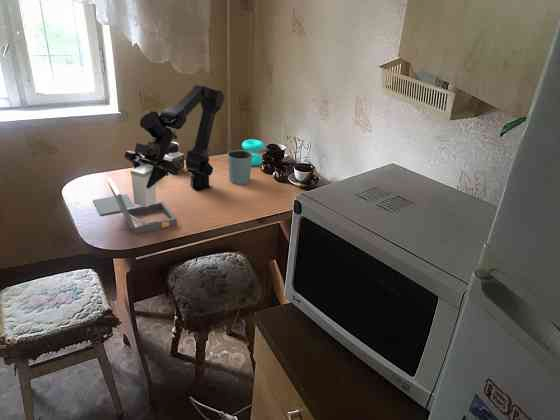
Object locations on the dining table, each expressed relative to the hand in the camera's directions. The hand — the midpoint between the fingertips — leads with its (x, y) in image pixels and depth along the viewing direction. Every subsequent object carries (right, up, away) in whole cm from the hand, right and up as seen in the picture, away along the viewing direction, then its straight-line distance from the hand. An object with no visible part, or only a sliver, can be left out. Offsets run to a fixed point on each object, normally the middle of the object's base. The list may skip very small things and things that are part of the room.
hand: (140, 186), depth 140 cm
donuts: (+32, +14, +61) cm, 70 cm away
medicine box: (-11, +6, +39) cm, 41 cm away
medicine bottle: (-1, +10, +47) cm, 48 cm away
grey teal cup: (+28, +4, +41) cm, 50 cm away
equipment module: (0, -5, +4) cm, 7 cm away
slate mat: (-15, -6, +15) cm, 22 cm away
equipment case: (-1, -12, +6) cm, 13 cm away
